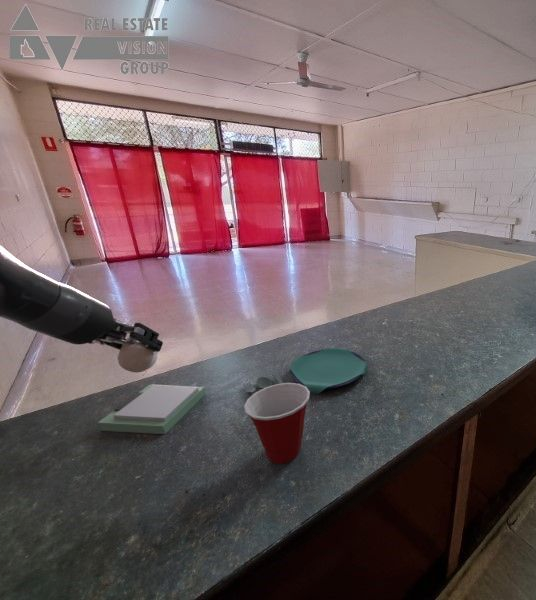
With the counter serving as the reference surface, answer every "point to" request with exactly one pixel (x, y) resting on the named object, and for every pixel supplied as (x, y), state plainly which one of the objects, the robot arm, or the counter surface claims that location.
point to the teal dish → (321, 370)
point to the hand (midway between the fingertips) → (142, 346)
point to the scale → (152, 409)
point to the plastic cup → (279, 419)
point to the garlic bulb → (136, 358)
